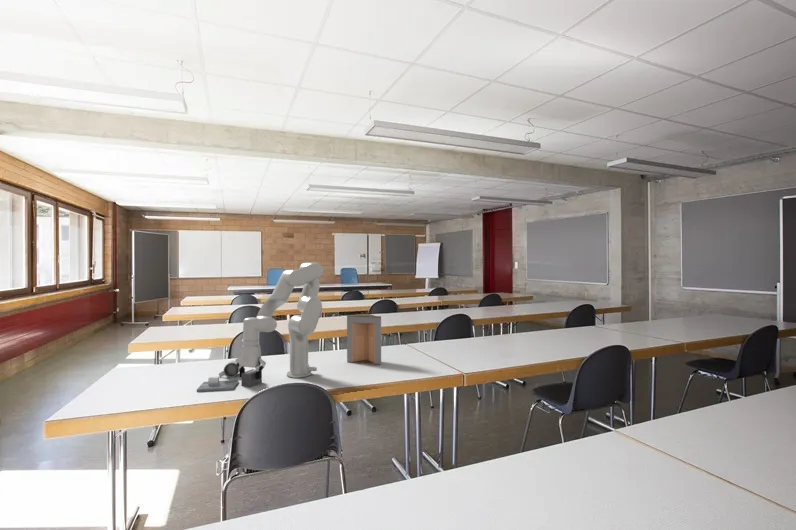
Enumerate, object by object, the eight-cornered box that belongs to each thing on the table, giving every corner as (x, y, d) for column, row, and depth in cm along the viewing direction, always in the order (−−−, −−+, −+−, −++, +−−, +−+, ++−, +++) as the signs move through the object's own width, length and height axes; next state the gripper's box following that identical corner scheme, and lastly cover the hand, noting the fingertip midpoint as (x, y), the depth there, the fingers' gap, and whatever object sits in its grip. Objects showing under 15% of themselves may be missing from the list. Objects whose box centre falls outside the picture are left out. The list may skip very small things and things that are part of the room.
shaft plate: (238, 382, 204) (238, 372, 204) (233, 389, 192) (233, 379, 192) (204, 384, 201) (204, 374, 201) (196, 391, 189) (196, 381, 189)
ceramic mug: (241, 372, 221) (241, 358, 221) (239, 377, 213) (238, 362, 213) (220, 374, 219) (219, 360, 219) (217, 378, 211) (216, 364, 211)
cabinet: (347, 362, 243) (346, 315, 243) (353, 358, 252) (353, 313, 252) (380, 365, 237) (380, 316, 237) (385, 361, 246) (385, 314, 246)
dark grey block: (252, 381, 206) (252, 368, 206) (261, 382, 204) (261, 369, 204) (241, 385, 199) (241, 373, 199) (251, 386, 197) (250, 374, 197)
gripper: (231, 342, 200) (230, 377, 200) (260, 345, 195) (259, 381, 194) (241, 340, 207) (241, 374, 207) (270, 343, 202) (269, 378, 202)
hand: (250, 377), depth 201 cm, fingers open, 9 cm apart
